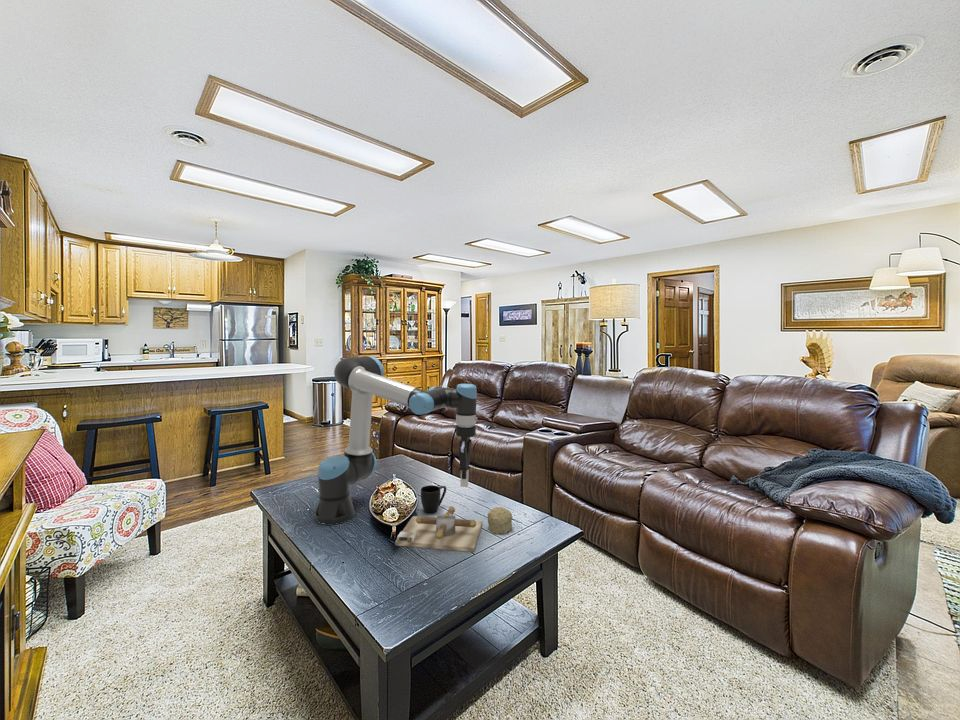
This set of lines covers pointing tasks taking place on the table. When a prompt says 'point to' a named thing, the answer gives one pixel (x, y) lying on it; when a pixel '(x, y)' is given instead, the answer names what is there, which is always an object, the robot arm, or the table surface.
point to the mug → (431, 498)
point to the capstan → (445, 523)
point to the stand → (427, 539)
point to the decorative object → (499, 520)
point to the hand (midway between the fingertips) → (464, 486)
